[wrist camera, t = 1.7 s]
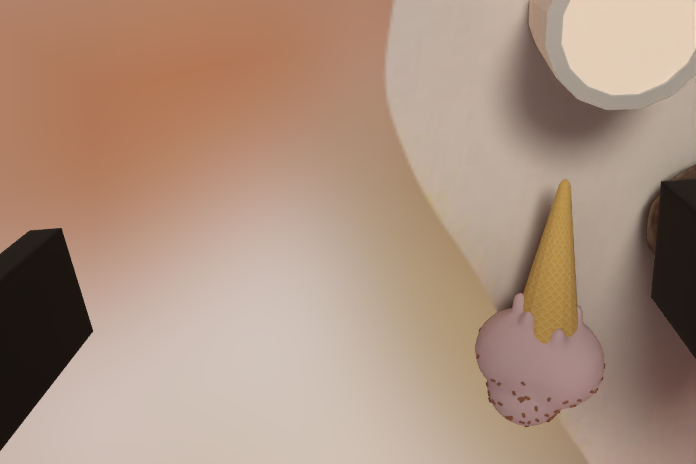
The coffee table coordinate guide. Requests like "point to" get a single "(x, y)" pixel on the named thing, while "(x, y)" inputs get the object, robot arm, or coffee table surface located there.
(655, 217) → the candle
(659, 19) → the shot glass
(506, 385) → the ice cream cone
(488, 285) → the coffee table surface
